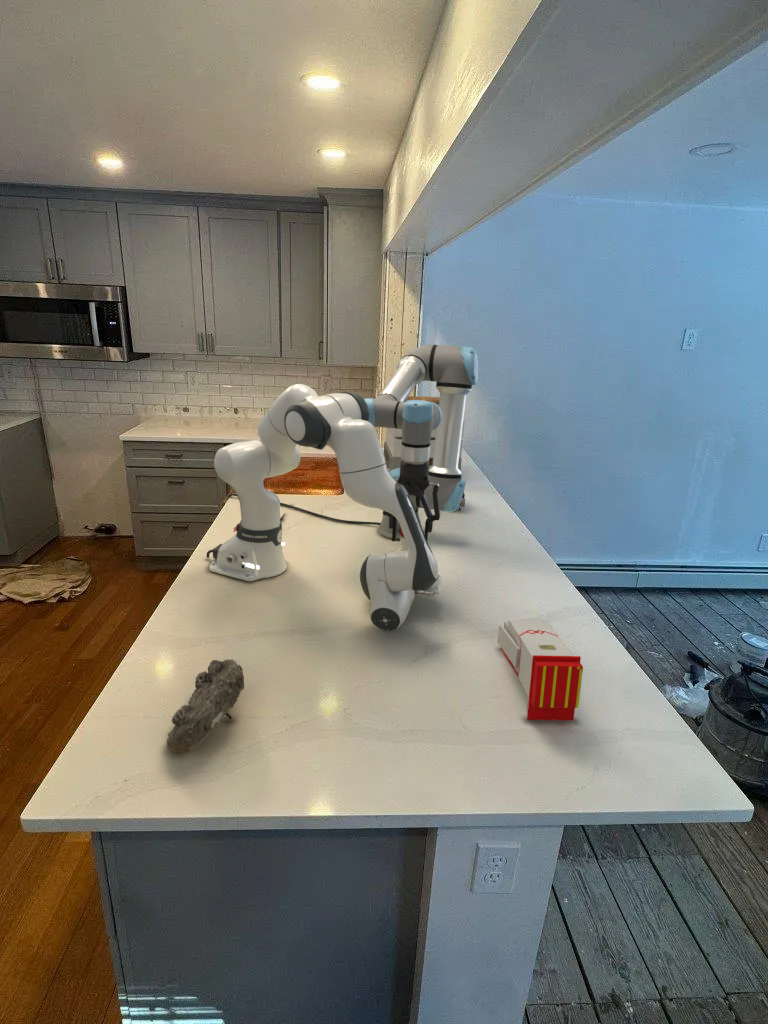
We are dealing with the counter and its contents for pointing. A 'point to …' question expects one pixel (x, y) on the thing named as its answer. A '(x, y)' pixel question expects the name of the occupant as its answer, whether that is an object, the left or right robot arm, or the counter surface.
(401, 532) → the lid
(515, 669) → the toy
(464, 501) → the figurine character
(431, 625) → the counter surface
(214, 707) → the fossil
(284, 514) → the feather
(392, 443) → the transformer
